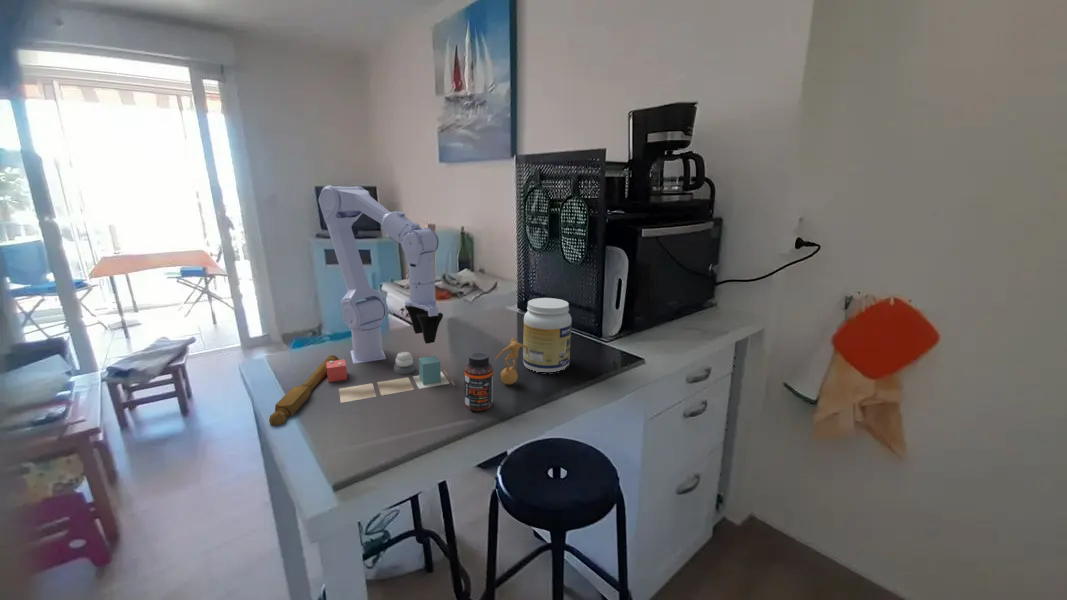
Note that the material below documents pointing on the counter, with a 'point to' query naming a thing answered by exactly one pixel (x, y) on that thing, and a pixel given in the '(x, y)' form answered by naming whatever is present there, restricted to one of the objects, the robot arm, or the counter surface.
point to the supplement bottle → (478, 382)
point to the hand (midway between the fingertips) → (424, 337)
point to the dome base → (404, 369)
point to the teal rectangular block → (429, 370)
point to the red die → (336, 370)
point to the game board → (386, 388)
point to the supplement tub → (547, 335)
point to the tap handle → (298, 395)
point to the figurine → (510, 373)
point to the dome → (404, 359)
